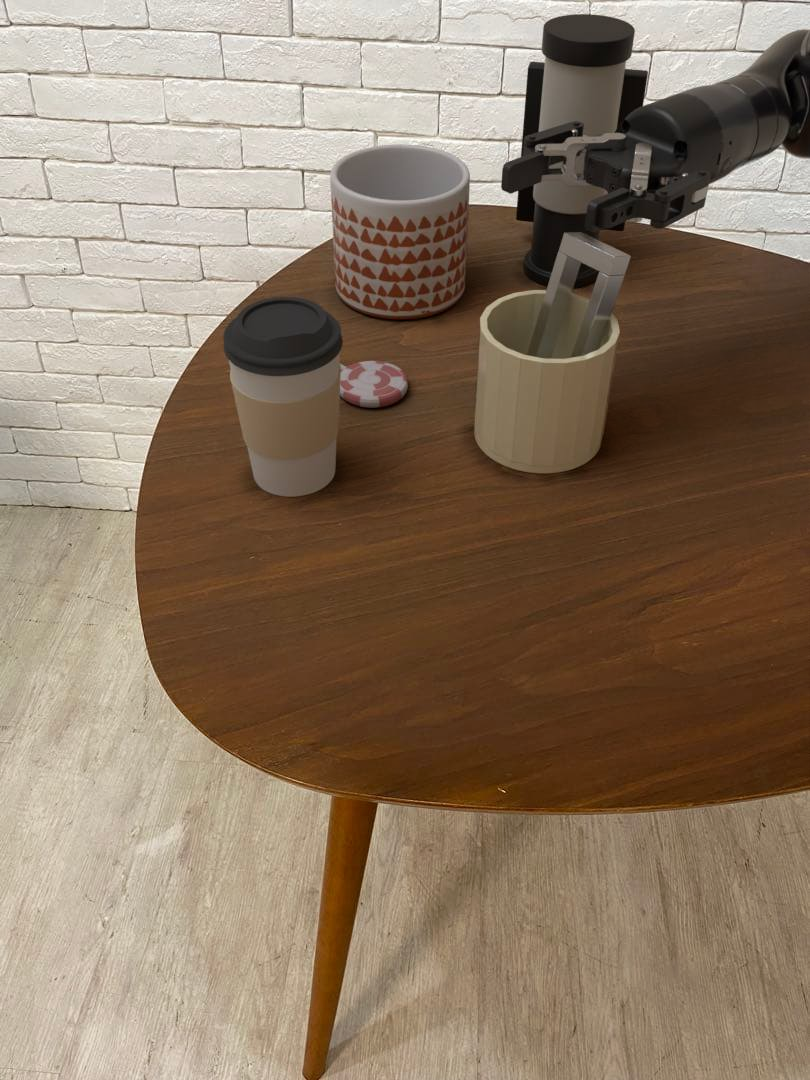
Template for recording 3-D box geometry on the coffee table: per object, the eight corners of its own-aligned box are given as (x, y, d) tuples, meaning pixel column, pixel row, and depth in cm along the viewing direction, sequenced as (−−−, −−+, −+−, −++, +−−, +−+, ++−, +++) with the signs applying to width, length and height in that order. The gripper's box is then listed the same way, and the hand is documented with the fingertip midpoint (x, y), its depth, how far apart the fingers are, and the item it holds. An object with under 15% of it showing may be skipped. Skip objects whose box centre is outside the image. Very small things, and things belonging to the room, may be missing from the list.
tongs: (502, 406, 93) (556, 229, 84) (521, 403, 94) (575, 228, 86) (559, 442, 89) (620, 260, 81) (577, 438, 91) (639, 259, 82)
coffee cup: (231, 449, 91) (210, 293, 80) (333, 430, 93) (324, 276, 82) (252, 515, 84) (231, 355, 74) (360, 493, 86) (355, 335, 76)
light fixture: (500, 282, 112) (518, 36, 95) (515, 236, 120) (534, 2, 103) (614, 295, 110) (652, 46, 93) (621, 247, 118) (658, 10, 101)
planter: (334, 323, 106) (328, 202, 97) (336, 258, 116) (331, 144, 107) (469, 320, 106) (475, 200, 98) (460, 256, 116) (464, 142, 108)
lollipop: (308, 320, 104) (422, 377, 97) (308, 329, 105) (422, 386, 97) (259, 346, 100) (373, 408, 93) (260, 356, 101) (374, 418, 94)
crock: (613, 411, 95) (631, 303, 87) (586, 485, 87) (603, 373, 80) (493, 387, 98) (501, 280, 90) (457, 457, 90) (462, 346, 82)
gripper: (625, 70, 86) (481, 118, 78) (772, 120, 78) (628, 179, 70) (612, 160, 91) (476, 214, 83) (750, 216, 83) (613, 281, 75)
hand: (546, 198), depth 76 cm, fingers open, 8 cm apart
